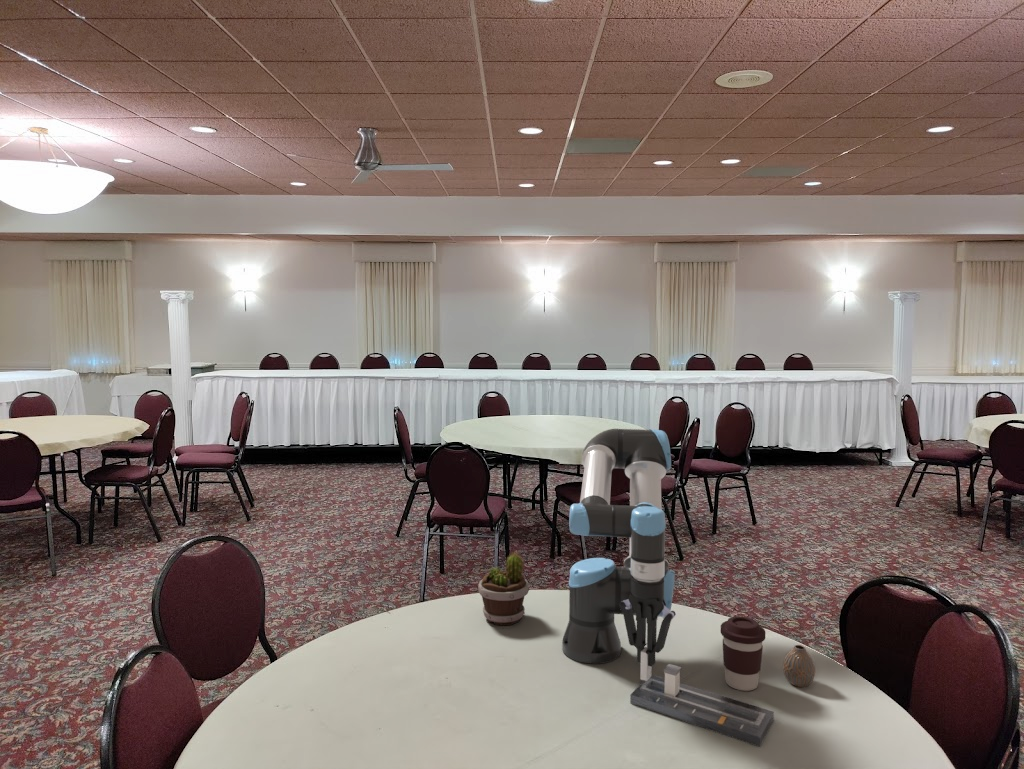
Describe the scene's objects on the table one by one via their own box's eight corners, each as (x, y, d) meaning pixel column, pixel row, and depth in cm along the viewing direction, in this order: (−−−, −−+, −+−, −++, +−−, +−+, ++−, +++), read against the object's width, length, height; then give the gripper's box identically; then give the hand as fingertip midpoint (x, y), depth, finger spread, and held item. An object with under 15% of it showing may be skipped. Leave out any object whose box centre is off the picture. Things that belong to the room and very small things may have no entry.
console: (630, 703, 150) (630, 692, 150) (650, 682, 160) (650, 671, 159) (759, 747, 135) (760, 734, 134) (773, 720, 144) (774, 708, 143)
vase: (817, 692, 155) (819, 655, 154) (785, 688, 156) (787, 652, 156) (810, 677, 162) (812, 641, 161) (780, 674, 163) (781, 639, 162)
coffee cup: (763, 676, 162) (765, 616, 161) (764, 698, 152) (766, 633, 151) (720, 670, 165) (721, 610, 164) (718, 690, 156) (720, 627, 155)
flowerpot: (483, 632, 186) (482, 561, 184) (474, 609, 201) (474, 544, 199) (534, 627, 189) (534, 557, 187) (522, 605, 204) (522, 541, 202)
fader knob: (663, 693, 150) (663, 669, 150) (668, 687, 153) (669, 663, 152) (675, 697, 148) (675, 673, 148) (680, 691, 151) (681, 667, 151)
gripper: (613, 575, 153) (612, 676, 154) (668, 588, 145) (666, 693, 147) (627, 566, 159) (626, 663, 161) (681, 577, 151) (679, 679, 153)
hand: (645, 677), depth 154 cm, fingers closed
